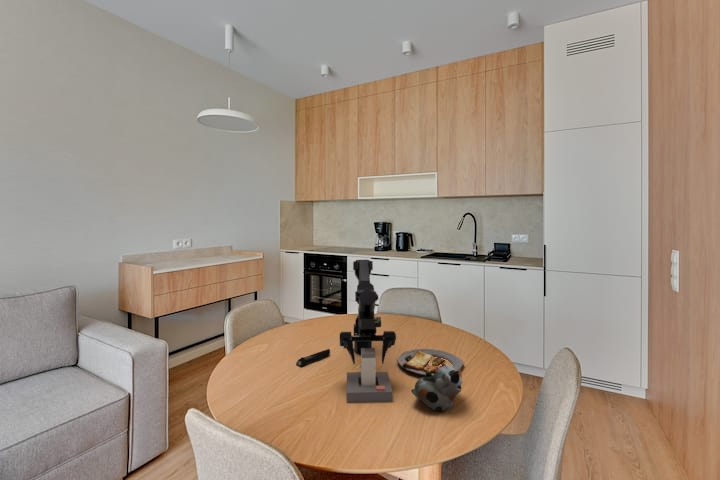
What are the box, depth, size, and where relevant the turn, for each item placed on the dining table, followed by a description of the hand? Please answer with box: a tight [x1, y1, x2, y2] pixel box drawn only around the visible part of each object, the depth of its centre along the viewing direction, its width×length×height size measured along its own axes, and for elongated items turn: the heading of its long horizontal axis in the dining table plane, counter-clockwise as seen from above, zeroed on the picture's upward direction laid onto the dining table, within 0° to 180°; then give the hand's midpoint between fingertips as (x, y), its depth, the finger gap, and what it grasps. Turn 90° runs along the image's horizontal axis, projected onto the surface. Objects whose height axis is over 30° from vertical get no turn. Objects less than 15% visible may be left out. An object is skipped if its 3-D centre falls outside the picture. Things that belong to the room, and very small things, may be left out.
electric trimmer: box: [295, 348, 331, 368], centre depth 135 cm, size 4×16×3 cm, turn 135°
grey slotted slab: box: [346, 371, 393, 403], centre depth 111 cm, size 14×14×4 cm
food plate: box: [396, 348, 465, 376], centre depth 130 cm, size 25×23×4 cm
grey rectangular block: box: [360, 347, 377, 386], centre depth 111 cm, size 4×4×12 cm
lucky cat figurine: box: [410, 364, 464, 414], centre depth 104 cm, size 15×12×14 cm
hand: (368, 363), depth 109 cm, fingers open, 9 cm apart
